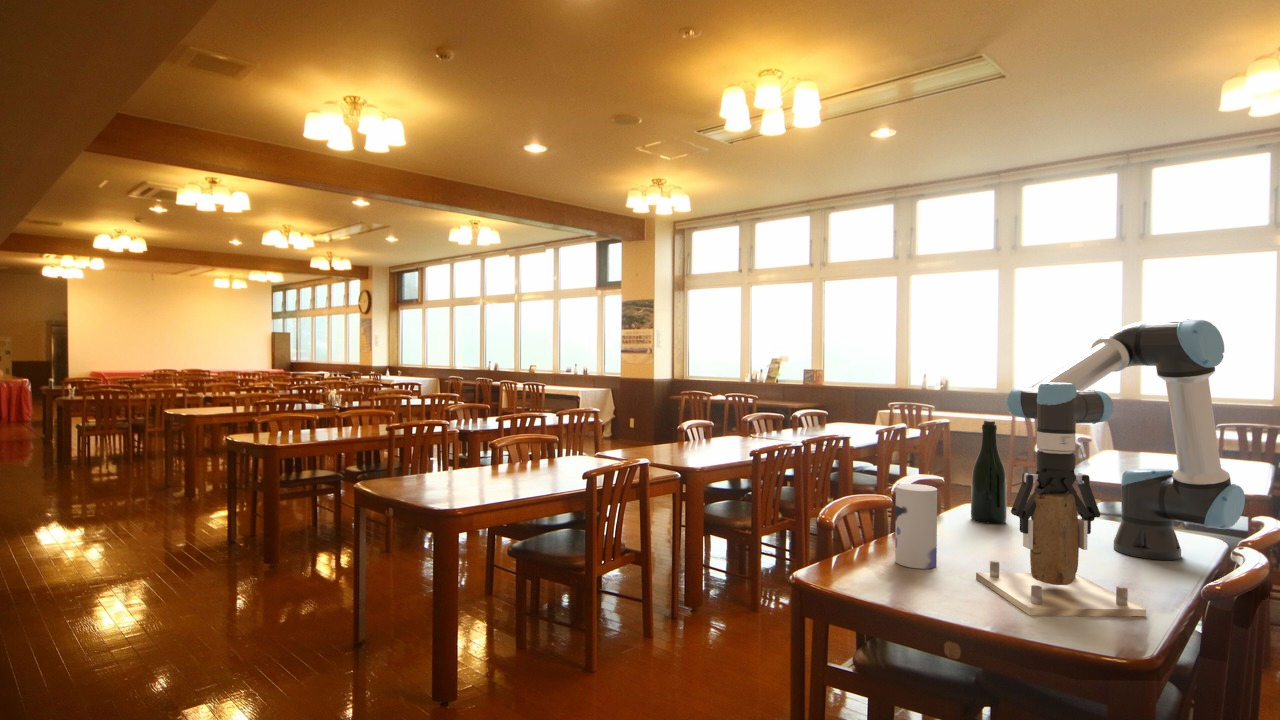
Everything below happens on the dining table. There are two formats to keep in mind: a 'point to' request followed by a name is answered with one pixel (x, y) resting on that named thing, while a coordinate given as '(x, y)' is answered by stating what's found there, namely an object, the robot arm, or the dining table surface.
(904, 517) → the container
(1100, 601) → the peg stand
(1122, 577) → the dining table surface
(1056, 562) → the block
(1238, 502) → the robot arm
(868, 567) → the dining table surface
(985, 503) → the beer bottle
